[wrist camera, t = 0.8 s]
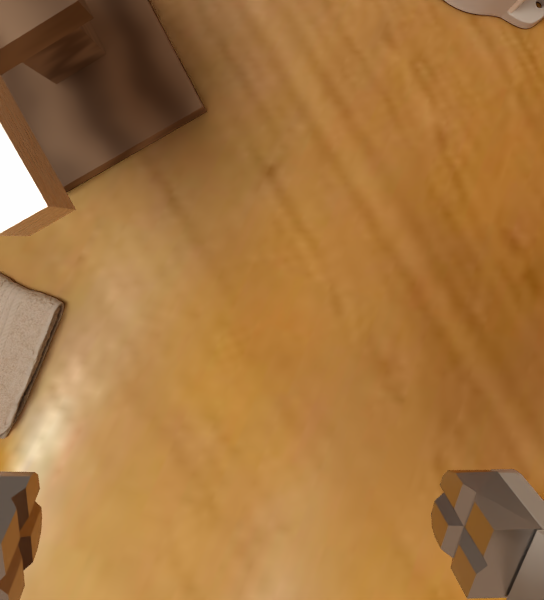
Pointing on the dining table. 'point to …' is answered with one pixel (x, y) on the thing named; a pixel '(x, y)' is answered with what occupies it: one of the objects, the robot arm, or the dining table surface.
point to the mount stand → (93, 80)
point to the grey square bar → (25, 176)
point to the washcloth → (22, 344)
